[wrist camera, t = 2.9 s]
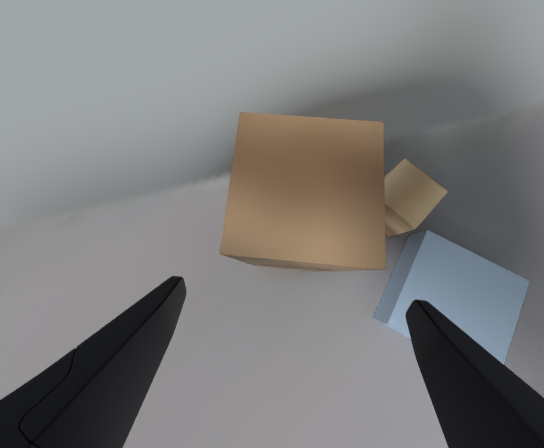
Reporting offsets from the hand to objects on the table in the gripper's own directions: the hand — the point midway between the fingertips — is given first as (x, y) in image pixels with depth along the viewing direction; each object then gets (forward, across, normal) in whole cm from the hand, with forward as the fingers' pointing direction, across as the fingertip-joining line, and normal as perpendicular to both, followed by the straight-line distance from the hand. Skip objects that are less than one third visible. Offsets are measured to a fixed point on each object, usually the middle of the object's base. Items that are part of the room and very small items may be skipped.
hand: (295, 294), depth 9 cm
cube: (+13, -9, +2) cm, 16 cm away
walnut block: (+10, 0, +5) cm, 11 cm away
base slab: (+8, -13, +8) cm, 17 cm away
